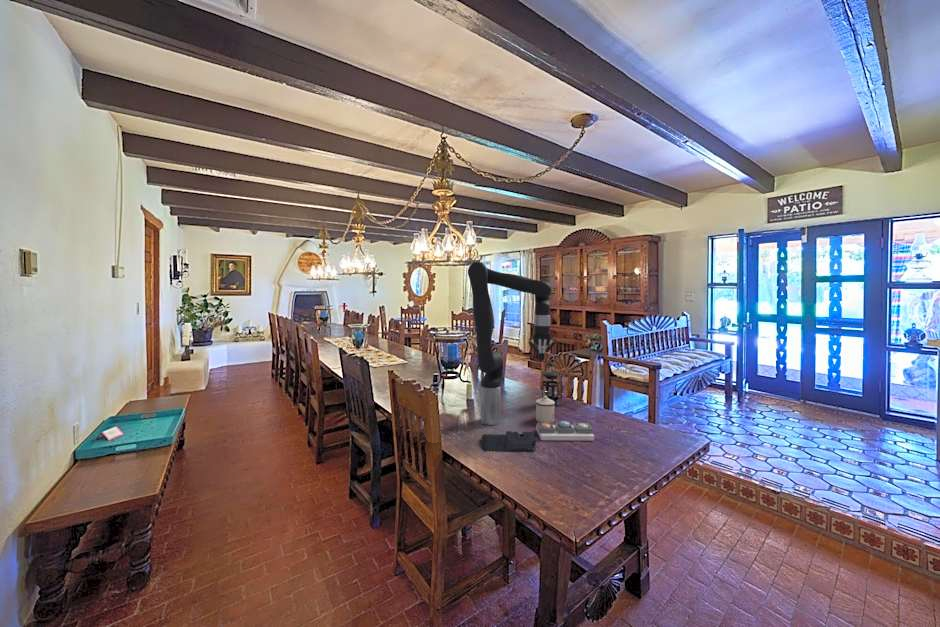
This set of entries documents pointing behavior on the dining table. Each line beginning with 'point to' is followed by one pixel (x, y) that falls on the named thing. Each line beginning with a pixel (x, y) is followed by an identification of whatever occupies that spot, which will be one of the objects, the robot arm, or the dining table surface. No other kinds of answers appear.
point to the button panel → (565, 432)
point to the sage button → (582, 425)
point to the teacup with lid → (545, 410)
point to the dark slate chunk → (509, 442)
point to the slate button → (564, 424)
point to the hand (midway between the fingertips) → (541, 360)
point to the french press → (551, 393)
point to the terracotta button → (545, 425)
